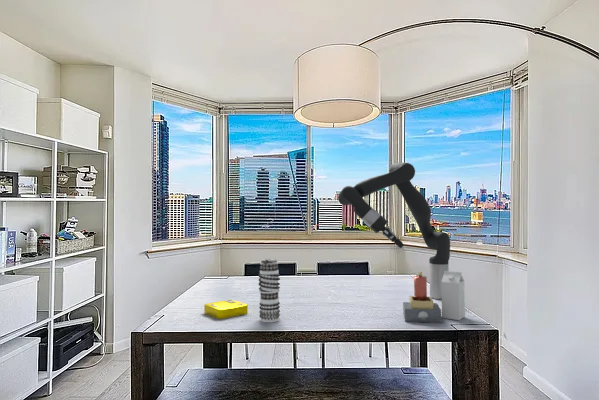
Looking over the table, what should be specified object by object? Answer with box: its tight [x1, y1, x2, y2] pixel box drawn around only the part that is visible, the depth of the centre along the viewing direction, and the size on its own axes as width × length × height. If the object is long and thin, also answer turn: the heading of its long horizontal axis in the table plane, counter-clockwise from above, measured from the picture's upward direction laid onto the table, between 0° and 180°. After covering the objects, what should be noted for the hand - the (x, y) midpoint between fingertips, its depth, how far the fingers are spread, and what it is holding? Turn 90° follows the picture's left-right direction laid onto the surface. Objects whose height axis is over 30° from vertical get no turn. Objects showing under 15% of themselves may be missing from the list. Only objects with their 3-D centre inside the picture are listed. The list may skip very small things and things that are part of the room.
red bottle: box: [413, 271, 428, 301], centre depth 170 cm, size 5×5×14 cm
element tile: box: [203, 298, 249, 320], centre depth 181 cm, size 15×15×5 cm
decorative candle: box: [257, 258, 281, 323], centre depth 170 cm, size 9×9×25 cm
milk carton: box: [441, 270, 466, 321], centre depth 170 cm, size 7×7×19 cm
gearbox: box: [402, 295, 442, 324], centre depth 169 cm, size 13×14×8 cm
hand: (401, 245), depth 181 cm, fingers open, 8 cm apart
